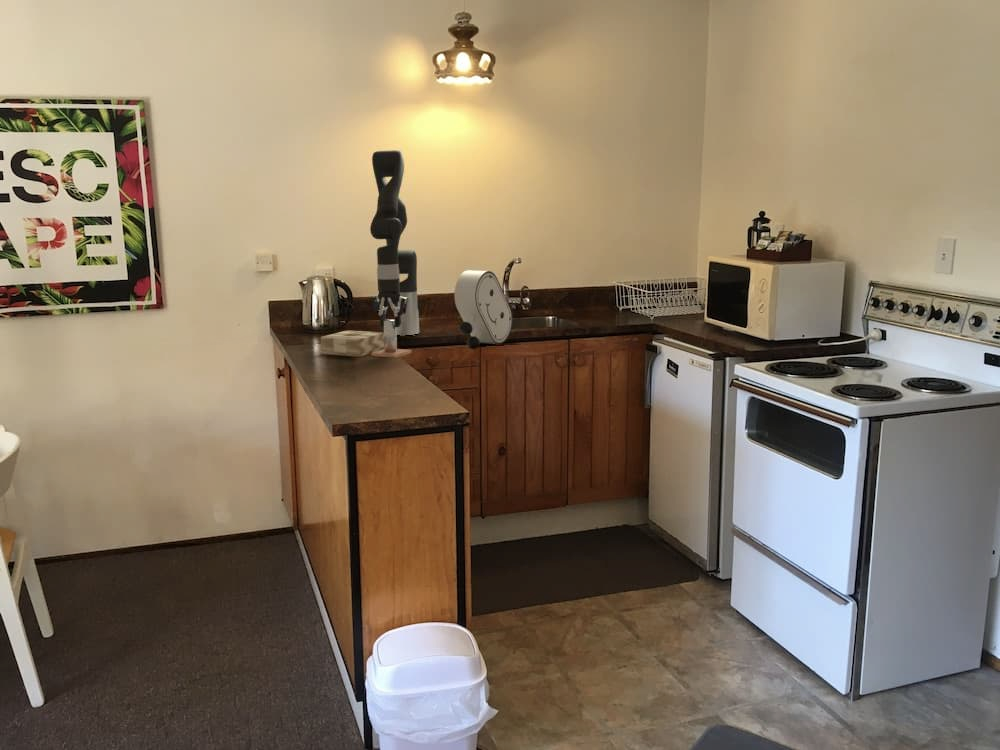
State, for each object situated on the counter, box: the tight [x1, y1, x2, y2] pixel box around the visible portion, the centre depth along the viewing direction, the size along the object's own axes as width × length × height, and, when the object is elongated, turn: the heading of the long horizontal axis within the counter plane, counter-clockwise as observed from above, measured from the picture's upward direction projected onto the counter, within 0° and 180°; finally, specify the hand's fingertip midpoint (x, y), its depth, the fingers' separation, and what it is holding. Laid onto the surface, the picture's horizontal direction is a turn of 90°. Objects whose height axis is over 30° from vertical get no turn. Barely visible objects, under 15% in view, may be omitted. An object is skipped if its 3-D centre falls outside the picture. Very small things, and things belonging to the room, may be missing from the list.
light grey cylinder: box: [383, 318, 398, 353], centre depth 300 cm, size 4×4×11 cm
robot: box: [453, 269, 513, 350], centre depth 312 cm, size 30×9×24 cm
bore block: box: [320, 329, 384, 358], centre depth 308 cm, size 16×16×6 cm
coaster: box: [370, 348, 412, 359], centre depth 302 cm, size 10×10×1 cm
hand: (390, 326), depth 300 cm, fingers open, 5 cm apart
